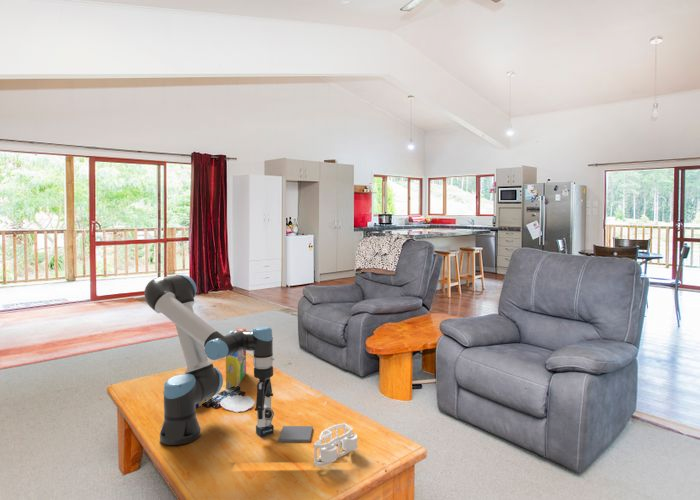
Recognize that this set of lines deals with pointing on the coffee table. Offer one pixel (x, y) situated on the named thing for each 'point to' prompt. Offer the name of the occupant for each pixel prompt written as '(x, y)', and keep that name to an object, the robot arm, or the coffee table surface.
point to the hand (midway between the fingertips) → (264, 419)
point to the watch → (266, 423)
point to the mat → (295, 434)
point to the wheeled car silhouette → (334, 445)
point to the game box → (235, 367)
